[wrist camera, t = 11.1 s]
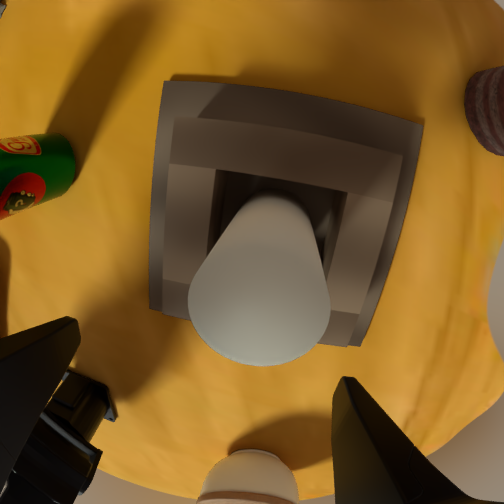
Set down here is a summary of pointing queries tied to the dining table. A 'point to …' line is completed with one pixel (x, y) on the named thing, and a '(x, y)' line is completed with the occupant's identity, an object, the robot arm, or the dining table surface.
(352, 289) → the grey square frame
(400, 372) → the dining table surface
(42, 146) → the soda can
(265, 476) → the lidded jar
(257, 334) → the cream peg
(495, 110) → the can
